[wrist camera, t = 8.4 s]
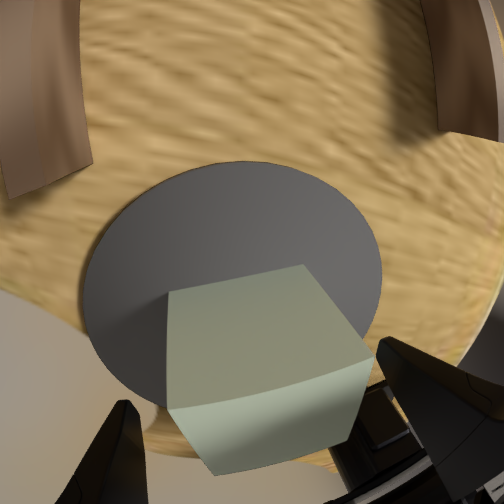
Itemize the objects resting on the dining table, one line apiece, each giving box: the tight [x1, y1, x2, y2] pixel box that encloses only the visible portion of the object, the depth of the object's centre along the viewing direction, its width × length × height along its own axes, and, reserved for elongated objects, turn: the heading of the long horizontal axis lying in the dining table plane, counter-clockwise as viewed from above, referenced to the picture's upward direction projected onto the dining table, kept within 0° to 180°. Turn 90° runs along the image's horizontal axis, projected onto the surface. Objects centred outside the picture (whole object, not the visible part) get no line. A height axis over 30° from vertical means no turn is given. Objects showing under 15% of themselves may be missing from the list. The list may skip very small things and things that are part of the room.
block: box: [167, 264, 375, 476], centre depth 9 cm, size 5×5×5 cm
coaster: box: [83, 161, 382, 408], centre depth 11 cm, size 13×13×1 cm
